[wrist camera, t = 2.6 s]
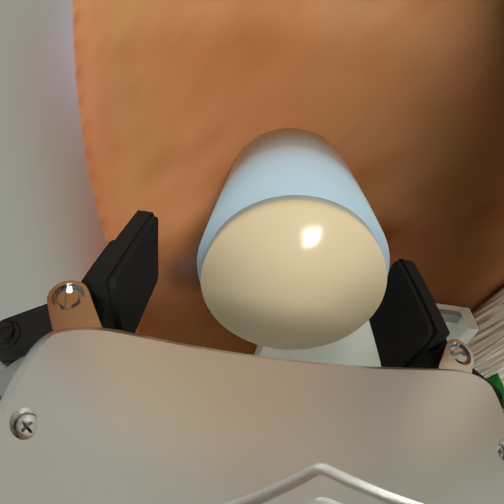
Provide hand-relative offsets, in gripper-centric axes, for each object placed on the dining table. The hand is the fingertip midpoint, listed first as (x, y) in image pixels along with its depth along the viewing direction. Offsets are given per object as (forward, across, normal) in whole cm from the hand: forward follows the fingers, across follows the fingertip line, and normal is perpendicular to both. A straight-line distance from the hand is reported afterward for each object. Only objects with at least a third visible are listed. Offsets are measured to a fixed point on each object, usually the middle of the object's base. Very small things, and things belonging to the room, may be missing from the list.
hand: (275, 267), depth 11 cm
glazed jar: (+6, -1, -1) cm, 6 cm away
